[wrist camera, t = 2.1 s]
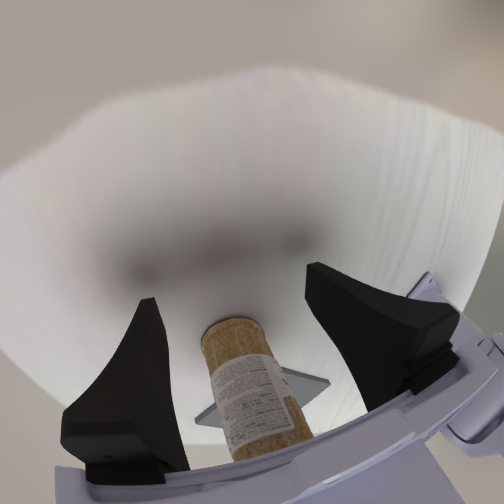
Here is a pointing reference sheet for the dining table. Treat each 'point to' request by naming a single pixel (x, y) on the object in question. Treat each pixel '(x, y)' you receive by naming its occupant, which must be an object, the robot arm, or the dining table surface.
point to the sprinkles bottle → (251, 391)
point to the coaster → (298, 382)
